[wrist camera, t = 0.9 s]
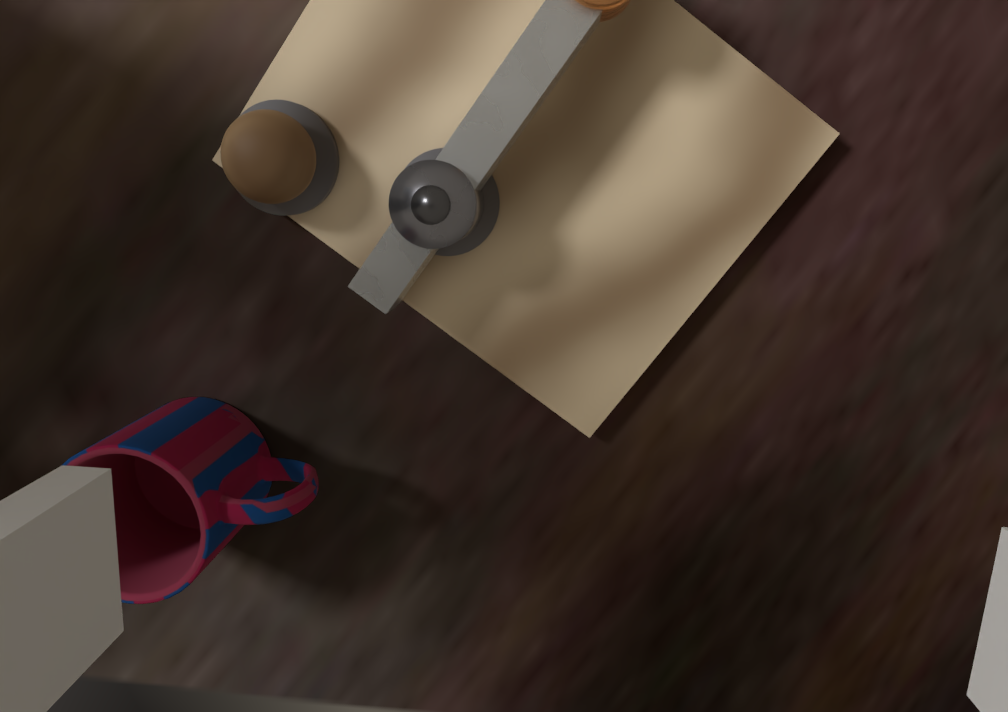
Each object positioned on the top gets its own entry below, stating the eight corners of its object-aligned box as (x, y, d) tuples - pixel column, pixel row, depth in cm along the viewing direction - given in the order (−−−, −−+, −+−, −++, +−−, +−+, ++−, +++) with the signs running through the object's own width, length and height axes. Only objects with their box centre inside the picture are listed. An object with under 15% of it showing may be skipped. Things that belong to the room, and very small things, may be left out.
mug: (130, 392, 35) (32, 440, 29) (340, 402, 35) (290, 453, 28) (141, 525, 37) (50, 599, 30) (343, 536, 36) (296, 614, 29)
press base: (217, 168, 33) (163, 165, 28) (434, -183, 29) (412, -250, 25) (583, 437, 34) (587, 475, 30) (830, 135, 31) (878, 126, 26)
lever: (352, 267, 31) (324, 278, 28) (586, -73, 28) (591, -113, 24) (414, 313, 32) (395, 330, 28) (653, -19, 28) (668, -51, 25)
